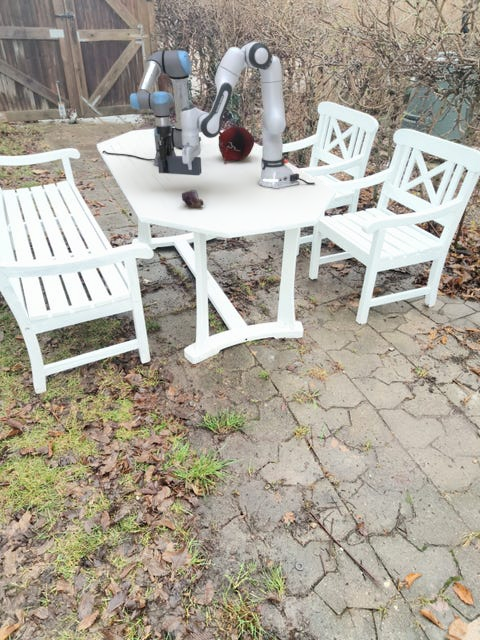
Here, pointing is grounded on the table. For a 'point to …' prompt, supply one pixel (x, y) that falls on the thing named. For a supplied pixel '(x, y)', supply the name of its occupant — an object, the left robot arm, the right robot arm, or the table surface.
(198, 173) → the bar
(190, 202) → the rock
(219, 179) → the table surface
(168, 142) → the left robot arm
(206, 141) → the table surface
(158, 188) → the table surface
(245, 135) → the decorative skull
